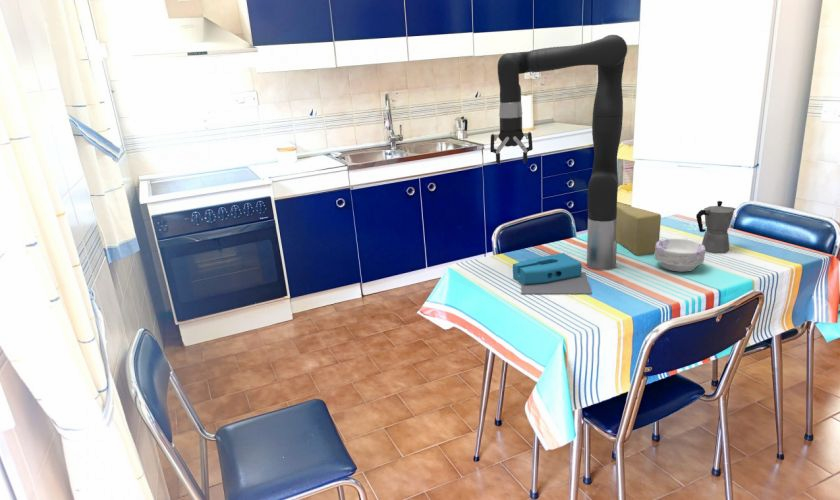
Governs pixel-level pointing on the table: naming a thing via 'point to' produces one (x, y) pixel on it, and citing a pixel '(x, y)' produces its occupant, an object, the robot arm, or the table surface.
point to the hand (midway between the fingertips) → (511, 163)
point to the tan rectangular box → (637, 229)
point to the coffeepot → (716, 227)
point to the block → (547, 269)
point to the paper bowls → (679, 254)
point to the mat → (560, 286)
